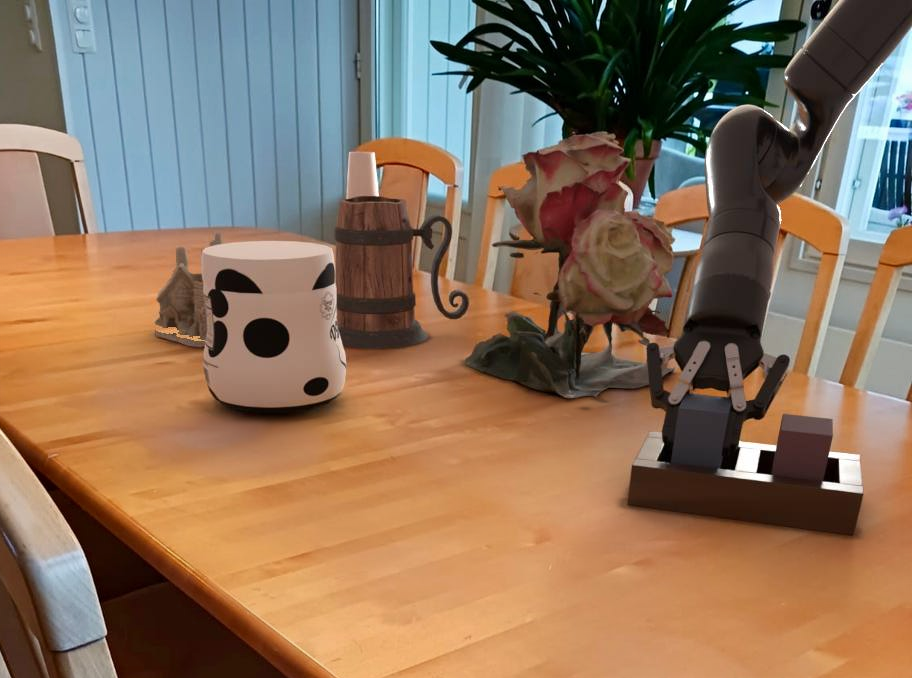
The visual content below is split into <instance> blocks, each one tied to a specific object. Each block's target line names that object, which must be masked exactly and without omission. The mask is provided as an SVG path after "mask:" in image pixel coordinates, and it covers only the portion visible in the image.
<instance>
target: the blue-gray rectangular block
mask: <svg viewBox="0 0 912 678" xmlns="http://www.w3.org/2000/svg"><path fill="white" fill-rule="evenodd" d="M731 407H732V401H731V398H729V397H727V396H720V395H719V396H718V395H710V394H709V395H708V394H700V393H694V394H691V393H690V394H687V393H686V395H685V397H684V398H683V400H682V402H681V404H680V406H679V409H678V416H677V423H676V430H675V437H674V444H673V451H672V458H671V463H675V464H683V465H692V466H700V467H708V468H716V469H721V467H722V461H723V456H722V449H723V443H724V438H725V433H726V428H727V423H728V418H729V413H730V412H731Z"/></svg>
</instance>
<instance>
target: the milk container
mask: <svg viewBox="0 0 912 678" xmlns="http://www.w3.org/2000/svg"><path fill="white" fill-rule="evenodd" d="M209 246H210V245H209ZM209 246H207V247H204V248H203V249H204V250H203V251H202V256H201V255H200V257H201V263H200V266H201V269H200V270H201V271H200V273H201V274H202V280H203V284H204V286H203V294H204V302H205V309H206V317H207V336H206V342H205V346H204V347H203V348H204V349H203V358H202V366H203V374H204V378H205V382H206V385H207V388H208V391H209V392H210V394H211V396H212V397H213V398H214V400H216V401H217V402H218V403H219V404H221V405H223V406H225V407H229V408H231V409H234V410H237V411H238V410H239V411H245V412H251V413H255V414H256V413H259V414H260V413H261V414H263V413H264V414H265V413H266V414H283V413H295V412H300V411H308V410H312V409H316V408H319V407H322V406H325V405H328V404H330V403H331V402H332V401H334V400H335V399H337V398H338V397H339V396H340V395H342V392H343V389H344V388H345V384H346V383H345V382H346V375H347V356H346V351H345V348H344V347H345V346H343V344H342V341H341V337H340V334H339V330H338V324H337V294H336V262H335V256H334V251H333V248H332V247H331V246H329V245H326V244H320V243H315V242H306V241H295V240H293V241H291V240H250V241H234V242H227V243H223V244H219V245H214V246H210V247H209Z"/></svg>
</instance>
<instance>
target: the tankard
mask: <svg viewBox="0 0 912 678" xmlns="http://www.w3.org/2000/svg"><path fill="white" fill-rule="evenodd" d="M437 222H441V223H442V224H443V225H444V235H443V238H442V241H441V244H440V246H439V247H438V250H437V251H436V253H435V255H434V258H433V261H432V265H431V271H430V287H431V288H430V289H431V294H432V298H433V301H434V305H435V306H436V308H437V311H439V312H440V313H441V314H442V315H443V316H444V317H445V318H447V319H449V320H458V319H461V318H462V317H463V316H465V314H466V313H467V312H468V309H469V306H470V298H469V296H468V295H467V294H466V293H465V292H464V291H462V290H461V289H454V290H452V291H451V292H450V294H449V295H448V302H449V304H450V306H451V307H452V308H458V307H459V308H458V309H457V310H455V311H449V310H446V309H445V307H444V305H443V303H442V299H441V296H440V291H439V290H440V289H439V274H440V273H439V272H440V267H441V264H442V262H443V259H444V257H445V255H446V254H447V251H448V249H449V247H450V245H451V242H452V239H453V227H452V223H451V221H450V220H448V218H447V217H445V216H443V215H441V214H433V215H431V216H427V218H425V220H423V222H422V224H421V226H420V227H419V228H413V226H411V219H410V214H409V208H408V202H407V200H406V199H403V198H390V197H385V196H380V195H379V196H357V197H353V198H349V199H346V198H341V199H339V201H338V209H337V215H336V225H335V226H333V229H334V230H333V239H334V240H335V284H336V294H337V324H338V330H339V334H340V337H341V341H342V344H343V347H350V348H359V349H391V348H392V349H393V348H402V347H408V346H414V345H417V344H421V343H422V342H425V341H426V340H427V339H428V338H429V335H428V334H427V332H425V330H424V329H423V327H422V324H421V323H420V322H419V321H418V320H417V319H416V317H415V307H416V305H417V303H416V301H417V300H416V292H415V291H414V272H413V271H414V270H413V269H414V268H413V240H414V237H419V238H421V241H422V243H423V244H424V245H425V246H426V248H428V249H429V250H433V249H434V247H435V245H434V244H433V241H432V238H433V228H432V226H433V225H434V224H435V223H437ZM457 297H461V305H460V306H459V303H458V302H456V303H454V300H455V299H456V298H457Z"/></svg>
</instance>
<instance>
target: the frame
mask: <svg viewBox="0 0 912 678" xmlns="http://www.w3.org/2000/svg"><path fill="white" fill-rule="evenodd" d="M776 446H777V444H776V445H774V444H767V443H759V442H758V443H757V442H749V441H741V440H740V441H739V446H738V448H737V450H736V451H735V452H733V451H730V453H729V457H726V456H723V461H722V467H721V469H716V468H708V467H700V466H692V465H683V464H675V463H671V458H672V451H673V450H669V449H667V443H663V441H662V431H661V432H660V431H653V430H652V431H651V430H649V432H648V433H647V435H646V438H645V440H644V441H643V443H642V446H641V447H640V449H639V451H638V452H637V455H636V457H635V458H634V459H633V462H632V464H631V469H630V477H629V478H630V479H629V485H628V494H627V502H626V503H627V504H626V505H628V506H635V507H641V508H648V509H655V510H663V511H671V512H677V513H685V514H693V515H698V516H699V515H700V516H708V517H716V518H722V519H729V520H730V519H731V520H738V521H745V522H751V523H752V522H753V523H757V524H758V523H760V524H765V525H766V524H767V525H774V526H781V527H790V528H795V529H804V530H812V531H817V532H818V531H819V532H824V533H825V532H826V533H834V534H841V535H847V536H854V534H855V531H856V527H857V522H858V519H859V515H860V511H861V507H862V502H863V498H864V494H865V493H864V484H863V474H862V473H863V472H862V465H861V464H862V463H861V455H860V454H855V453H846V452H837V451H830V452H829V456H828V461H827V465H826V470H825V474H824V479H823V481H815V480H807V479H799V478H790V477H782V476H774V475H771V472H772V466H773V461H774V456H775V451H776Z"/></svg>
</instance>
